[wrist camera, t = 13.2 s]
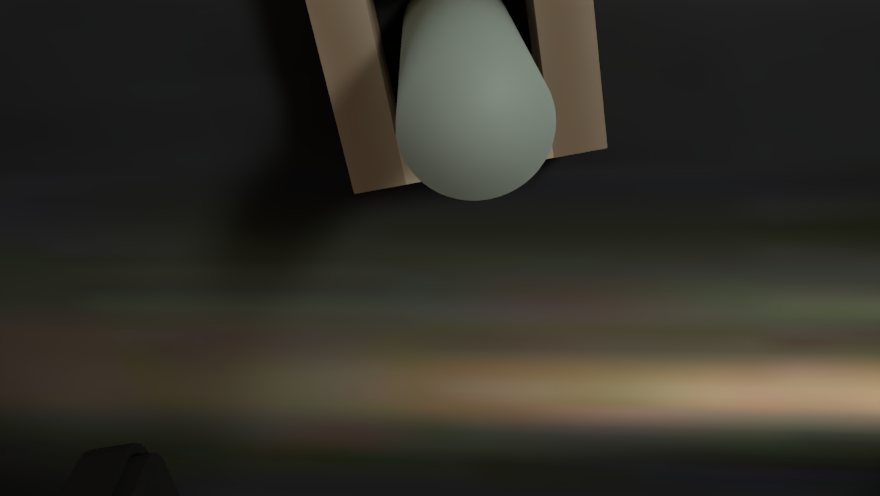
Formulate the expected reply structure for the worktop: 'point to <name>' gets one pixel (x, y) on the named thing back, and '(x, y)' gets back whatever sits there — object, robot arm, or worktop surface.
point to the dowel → (470, 100)
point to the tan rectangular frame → (372, 100)
